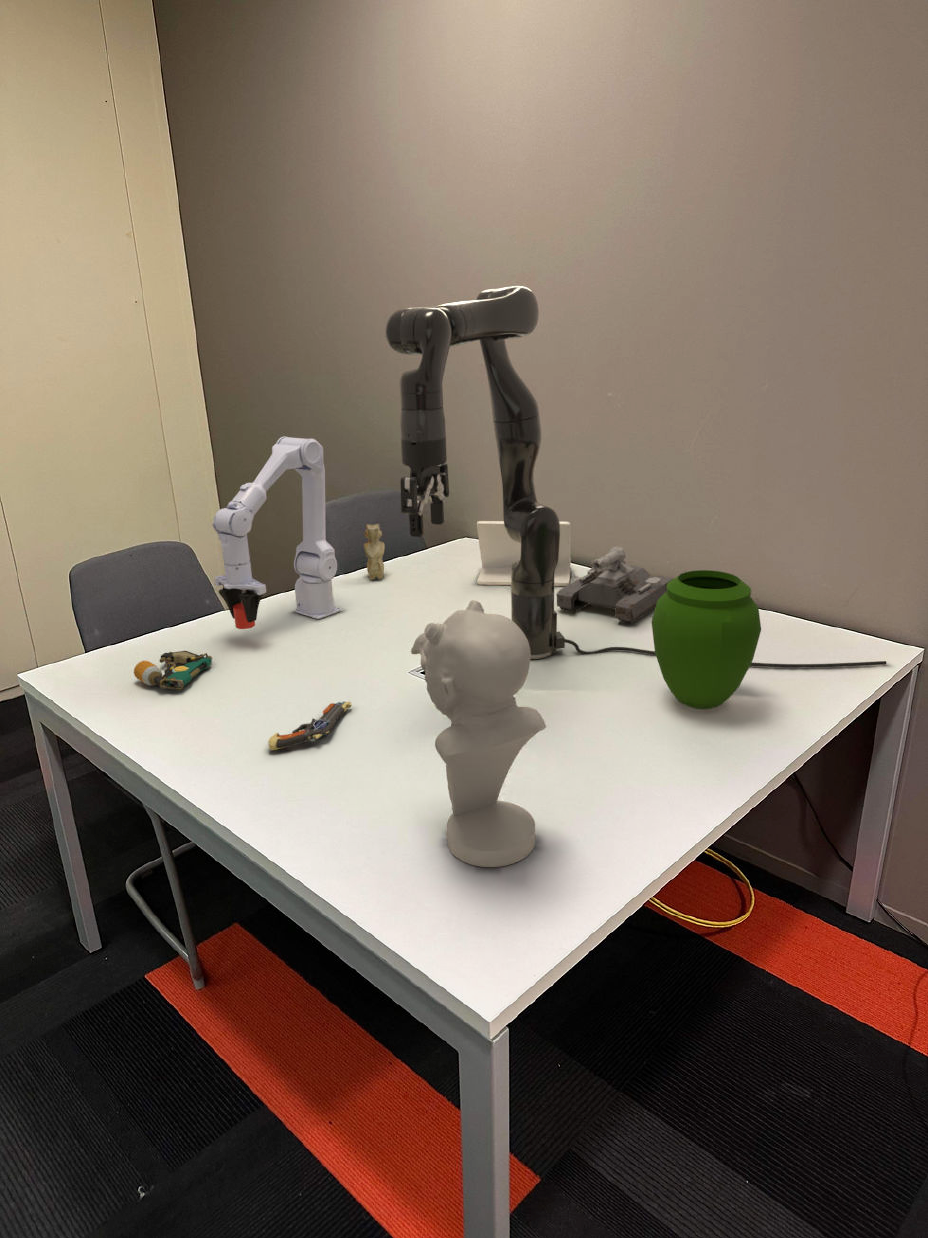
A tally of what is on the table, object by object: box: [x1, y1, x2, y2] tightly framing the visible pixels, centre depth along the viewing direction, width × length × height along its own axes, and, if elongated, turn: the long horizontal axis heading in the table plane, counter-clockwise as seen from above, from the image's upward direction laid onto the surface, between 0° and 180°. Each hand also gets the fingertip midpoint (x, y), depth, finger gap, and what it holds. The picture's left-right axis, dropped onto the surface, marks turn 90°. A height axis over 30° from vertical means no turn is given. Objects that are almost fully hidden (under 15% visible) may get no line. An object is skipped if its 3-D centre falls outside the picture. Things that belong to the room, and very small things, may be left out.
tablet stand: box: [476, 520, 572, 587], centre depth 236 cm, size 18×25×17 cm
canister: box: [233, 602, 256, 630], centre depth 194 cm, size 4×4×5 cm
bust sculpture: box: [410, 599, 547, 868], centre depth 121 cm, size 16×24×35 cm
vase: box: [651, 569, 762, 710], centre depth 158 cm, size 20×20×24 cm
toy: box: [556, 546, 675, 624], centre depth 212 cm, size 25×20×15 cm
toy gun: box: [267, 700, 353, 751], centre depth 156 cm, size 3×19×10 cm
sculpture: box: [363, 523, 386, 580], centre depth 238 cm, size 6×7×15 cm
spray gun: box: [133, 650, 213, 690], centre depth 180 cm, size 4×17×15 cm
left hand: (244, 619), depth 195 cm, fingers closed on canister, 4 cm apart
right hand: (427, 529), depth 148 cm, fingers open, 8 cm apart
